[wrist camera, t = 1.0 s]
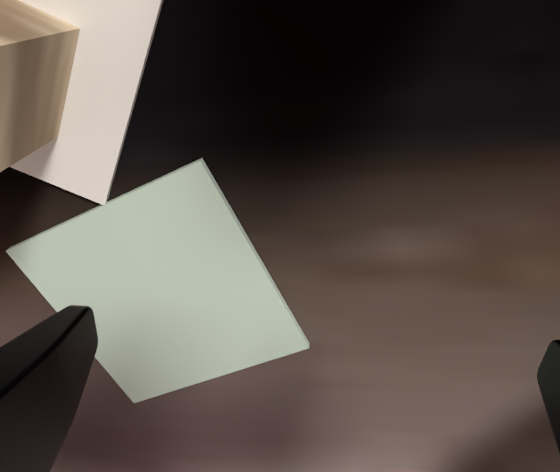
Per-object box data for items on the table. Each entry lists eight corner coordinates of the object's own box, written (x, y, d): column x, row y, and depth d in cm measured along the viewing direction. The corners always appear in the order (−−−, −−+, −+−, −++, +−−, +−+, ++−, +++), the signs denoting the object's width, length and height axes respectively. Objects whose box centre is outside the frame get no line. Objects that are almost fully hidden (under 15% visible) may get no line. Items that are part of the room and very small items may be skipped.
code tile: (164, -4, 19) (162, -4, 19) (106, 203, 24) (104, 205, 23) (-91, -126, 18) (-98, -127, 17) (-99, 119, 22) (-104, 120, 22)
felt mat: (309, 343, 27) (309, 348, 27) (136, 398, 30) (133, 403, 30) (202, 157, 22) (200, 160, 22) (9, 247, 25) (5, 250, 25)
